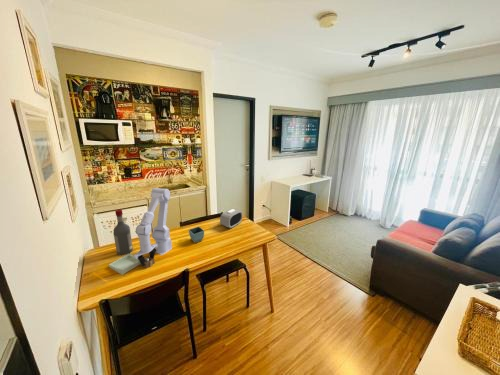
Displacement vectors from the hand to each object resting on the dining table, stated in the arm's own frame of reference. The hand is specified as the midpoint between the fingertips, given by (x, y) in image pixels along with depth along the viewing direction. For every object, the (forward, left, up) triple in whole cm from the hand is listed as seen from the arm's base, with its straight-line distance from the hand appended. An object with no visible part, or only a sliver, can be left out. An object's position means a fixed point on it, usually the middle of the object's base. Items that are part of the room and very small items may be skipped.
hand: (147, 262), depth 125 cm
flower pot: (-36, +6, -2) cm, 37 cm away
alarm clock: (-72, +14, -2) cm, 74 cm away
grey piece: (0, 0, -2) cm, 2 cm away
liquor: (-1, -26, -2) cm, 26 cm away
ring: (0, 0, -1) cm, 1 cm away
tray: (+7, -10, -2) cm, 13 cm away
